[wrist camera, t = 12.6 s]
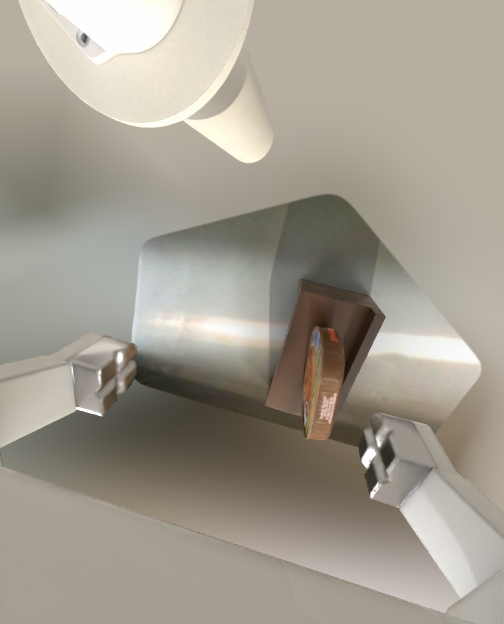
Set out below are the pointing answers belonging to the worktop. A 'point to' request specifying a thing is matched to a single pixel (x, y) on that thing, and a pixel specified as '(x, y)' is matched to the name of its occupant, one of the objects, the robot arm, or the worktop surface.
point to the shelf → (306, 316)
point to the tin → (322, 382)
